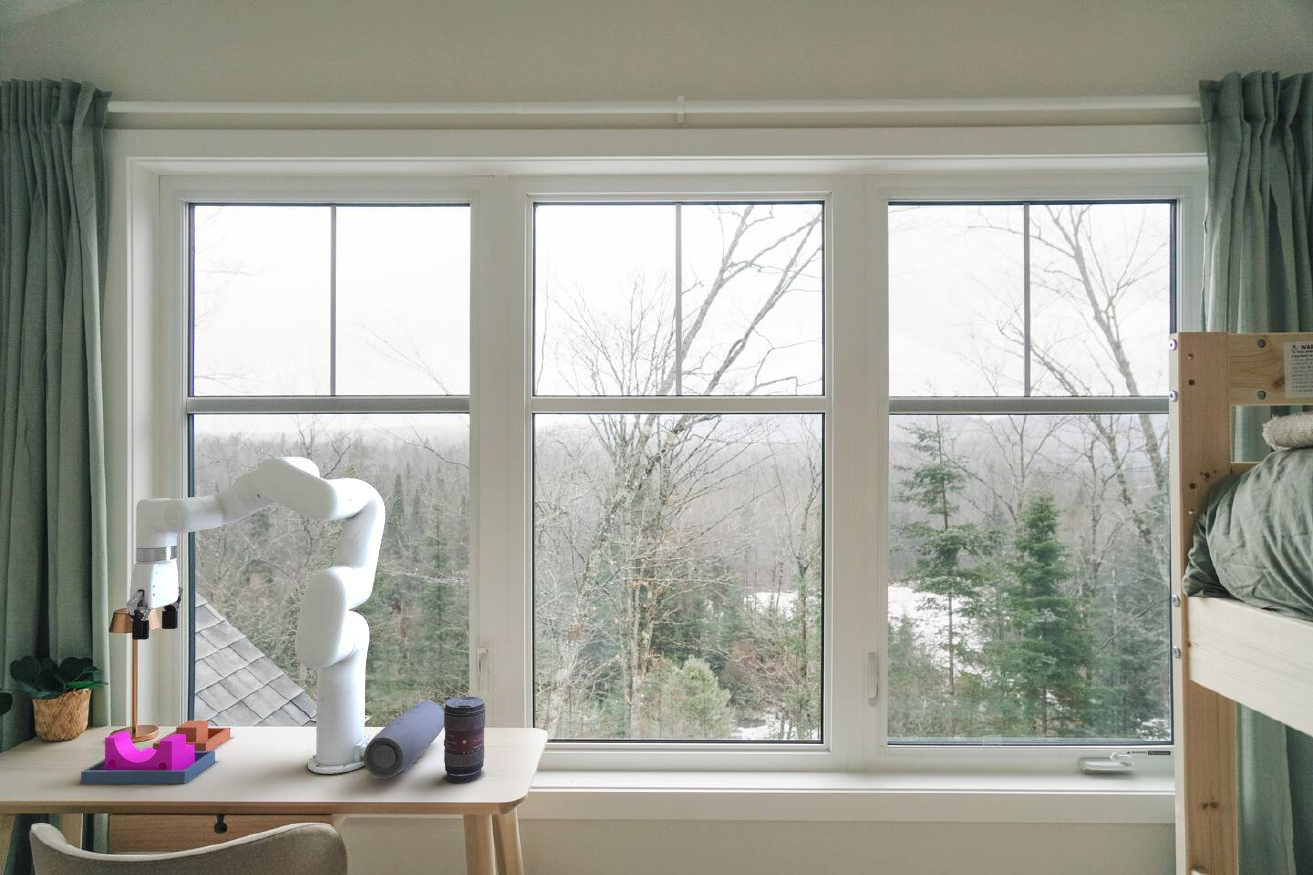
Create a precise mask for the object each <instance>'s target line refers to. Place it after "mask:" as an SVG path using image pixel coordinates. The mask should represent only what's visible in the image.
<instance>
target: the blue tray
mask: <svg viewBox="0 0 1313 875" xmlns="http://www.w3.org/2000/svg"><path fill="white" fill-rule="evenodd" d="M215 763H216V751H215V750H212V751H195V763H193V764H192V765H190V766H189V767H187V768H186V769H184V770H105V758H103V759H102V760H100V761H98V762H97V763H94V764H92V765H91V766H89V767H87V768H86V769H83V770H82V771H80V785H136V784H137V785H171V784H173V785H175V784H176V785H179V784H180V785H181V784H182V785H183V784H184V785H185V784H186V783H188V782H189V781H191V780H192V779H193V778H195V777H196V776H198V775H199V774H200V773H203V771H205V770H206V769H208V768H209V767H211V766H212V765H214V764H215Z"/></svg>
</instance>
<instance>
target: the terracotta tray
mask: <svg viewBox="0 0 1313 875" xmlns="http://www.w3.org/2000/svg"><path fill="white" fill-rule="evenodd" d="M173 734H176V729H175V730H174V731H171V733H169V734H167V735H165V736H164V737H163V736H162V738H160V739H158V740H156V741H155V742H153V743H152V749H155V750H158V747H159V744H160V740H163V739H165V738H167V737H169V736H171V735H173ZM230 739H231V727H208V740H207V741H205V742H186V744H190V745H195V751H214V749H216V748H218V747H220V745H222V744H224V743H225V742H226V741H228V740H230Z"/></svg>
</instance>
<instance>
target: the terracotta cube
mask: <svg viewBox="0 0 1313 875" xmlns="http://www.w3.org/2000/svg"><path fill="white" fill-rule="evenodd" d="M208 728H209V720H187V721H185V722H183V723H182V724H180V725H177V726H176V727H175V730H176V734H184V735H186V742H205V741H207V740H208Z"/></svg>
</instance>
